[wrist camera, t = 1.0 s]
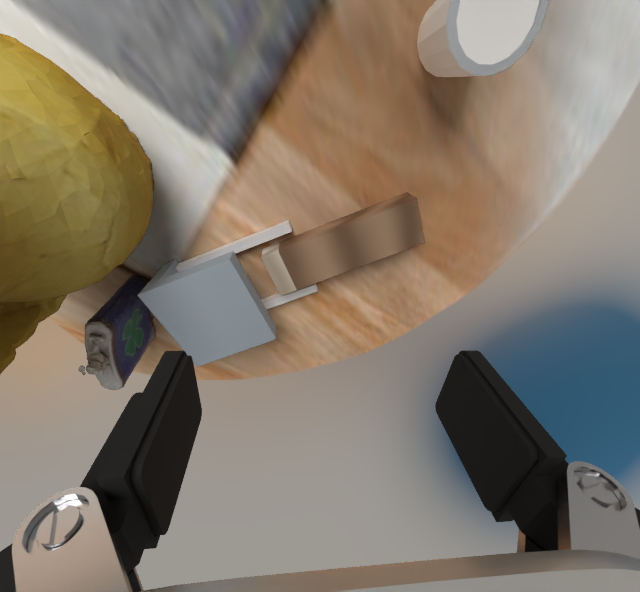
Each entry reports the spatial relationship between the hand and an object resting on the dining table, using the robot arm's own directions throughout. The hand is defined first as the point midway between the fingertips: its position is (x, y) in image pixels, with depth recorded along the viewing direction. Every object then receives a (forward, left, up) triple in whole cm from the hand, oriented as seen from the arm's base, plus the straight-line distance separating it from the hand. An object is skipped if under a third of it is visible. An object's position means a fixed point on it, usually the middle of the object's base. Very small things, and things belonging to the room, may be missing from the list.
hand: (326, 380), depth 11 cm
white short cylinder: (-17, -9, -25) cm, 31 cm away
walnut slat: (-3, +5, -25) cm, 25 cm away
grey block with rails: (+9, +5, -24) cm, 27 cm away
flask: (+23, +4, -25) cm, 34 cm away
